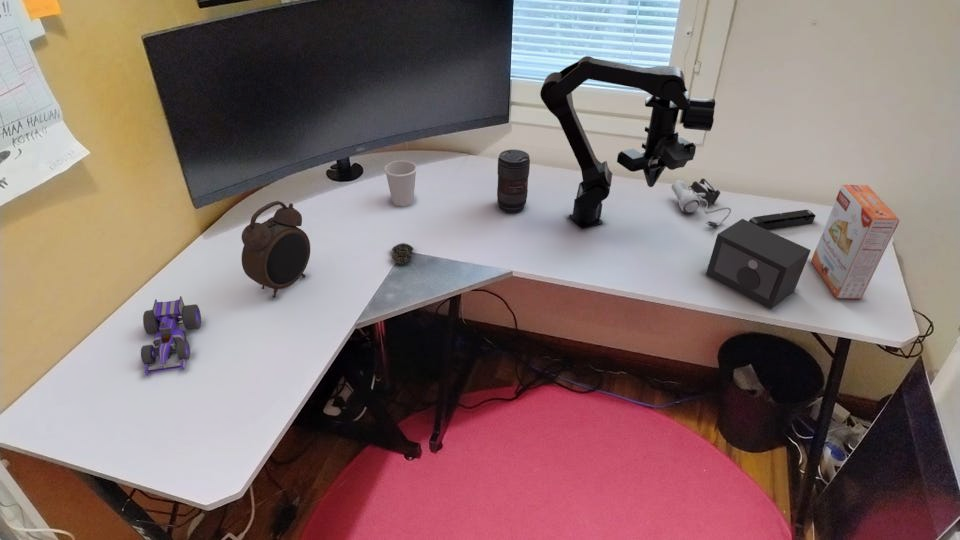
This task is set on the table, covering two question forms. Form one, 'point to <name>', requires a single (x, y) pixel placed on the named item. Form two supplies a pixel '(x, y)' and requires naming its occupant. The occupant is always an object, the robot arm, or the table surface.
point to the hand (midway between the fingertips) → (650, 186)
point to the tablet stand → (784, 219)
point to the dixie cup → (401, 181)
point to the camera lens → (512, 180)
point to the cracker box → (853, 241)
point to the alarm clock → (275, 248)
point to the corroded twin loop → (402, 253)
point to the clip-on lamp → (696, 197)
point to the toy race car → (168, 333)
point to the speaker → (757, 262)
